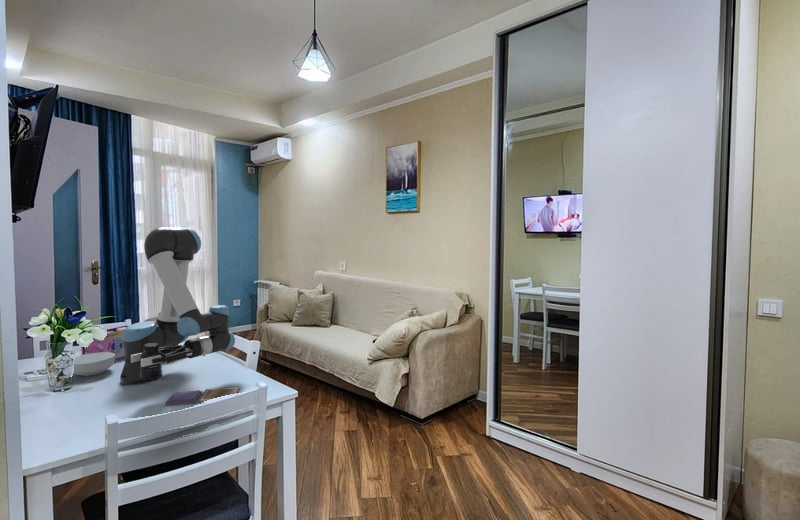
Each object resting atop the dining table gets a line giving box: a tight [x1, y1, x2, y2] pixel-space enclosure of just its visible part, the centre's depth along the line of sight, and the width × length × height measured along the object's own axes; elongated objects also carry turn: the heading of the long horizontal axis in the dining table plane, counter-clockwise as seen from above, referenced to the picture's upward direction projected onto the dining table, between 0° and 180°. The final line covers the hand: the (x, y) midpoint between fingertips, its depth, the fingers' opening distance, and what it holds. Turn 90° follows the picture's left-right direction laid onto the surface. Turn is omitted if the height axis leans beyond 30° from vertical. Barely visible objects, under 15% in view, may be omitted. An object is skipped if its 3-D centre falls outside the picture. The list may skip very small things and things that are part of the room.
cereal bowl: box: [73, 352, 116, 377], centre depth 181 cm, size 17×17×7 cm
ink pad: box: [164, 389, 203, 407], centre depth 153 cm, size 10×10×2 cm
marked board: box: [196, 386, 240, 405], centre depth 157 cm, size 12×12×1 cm
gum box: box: [80, 325, 129, 359], centre depth 203 cm, size 24×8×14 cm, turn 161°
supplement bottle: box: [140, 343, 163, 379], centre depth 153 cm, size 7×7×12 cm
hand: (136, 360), depth 148 cm, fingers closed on supplement bottle, 7 cm apart
